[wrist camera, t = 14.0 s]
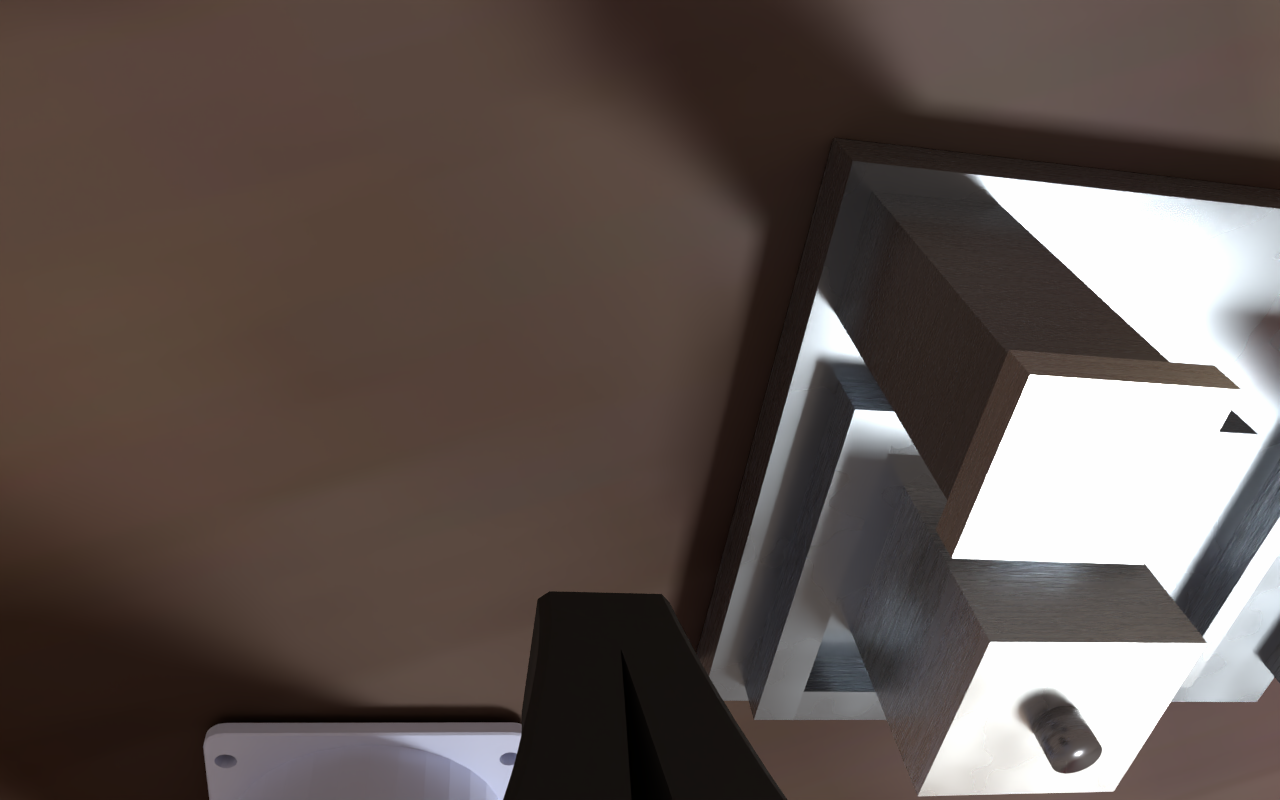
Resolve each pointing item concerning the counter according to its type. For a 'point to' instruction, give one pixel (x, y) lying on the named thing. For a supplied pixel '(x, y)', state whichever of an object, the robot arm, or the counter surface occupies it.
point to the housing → (1016, 662)
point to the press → (1011, 409)
